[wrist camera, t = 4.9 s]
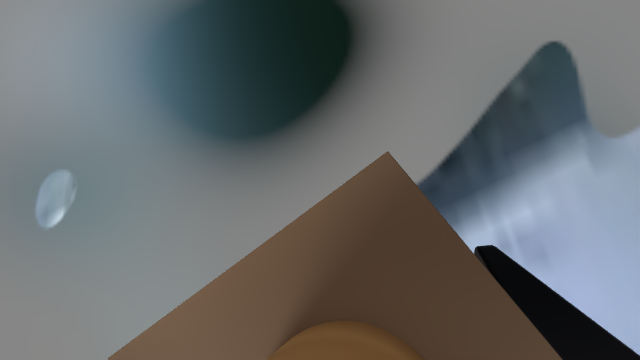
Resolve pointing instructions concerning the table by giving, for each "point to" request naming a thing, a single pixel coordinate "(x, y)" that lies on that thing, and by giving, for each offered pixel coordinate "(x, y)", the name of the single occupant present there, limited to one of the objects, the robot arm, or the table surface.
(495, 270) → the robot arm
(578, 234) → the table surface
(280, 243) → the point post
